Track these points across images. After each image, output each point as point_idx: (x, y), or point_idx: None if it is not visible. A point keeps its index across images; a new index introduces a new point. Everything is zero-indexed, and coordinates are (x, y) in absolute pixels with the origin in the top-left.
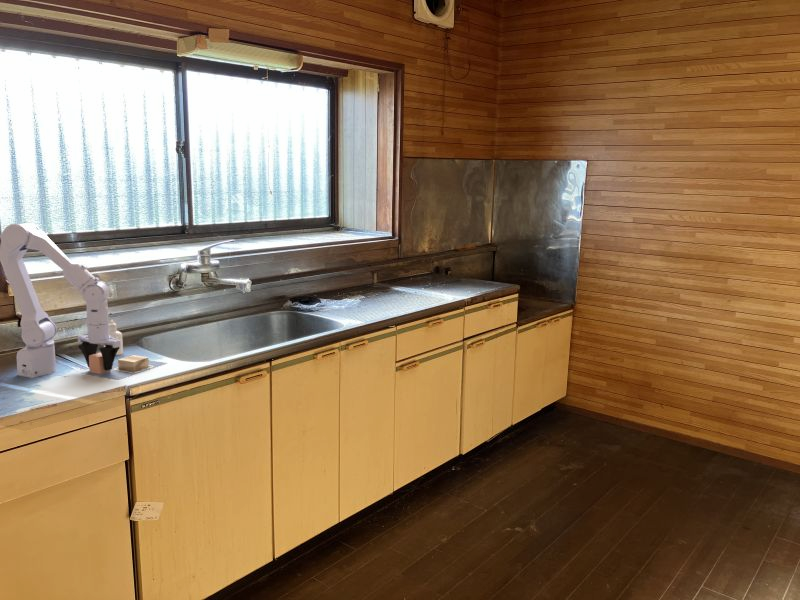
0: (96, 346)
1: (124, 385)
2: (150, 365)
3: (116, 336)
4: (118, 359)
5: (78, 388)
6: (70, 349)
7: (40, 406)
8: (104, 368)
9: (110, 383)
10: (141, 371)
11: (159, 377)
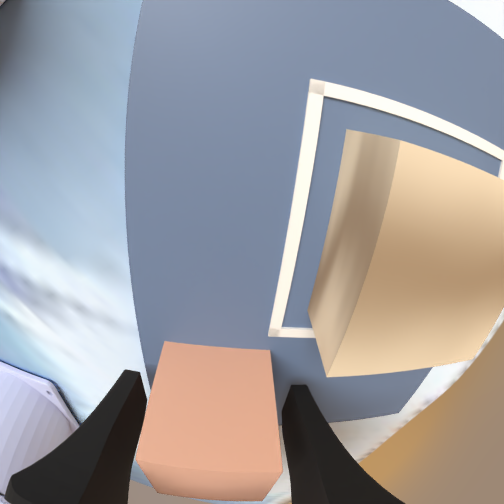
0: (85, 499)
1: (423, 405)
2: (481, 129)
3: None
4: (330, 374)
5: (283, 464)
6: None
7: (287, 500)
8: (283, 424)
9: (366, 418)
10: None
11: None
